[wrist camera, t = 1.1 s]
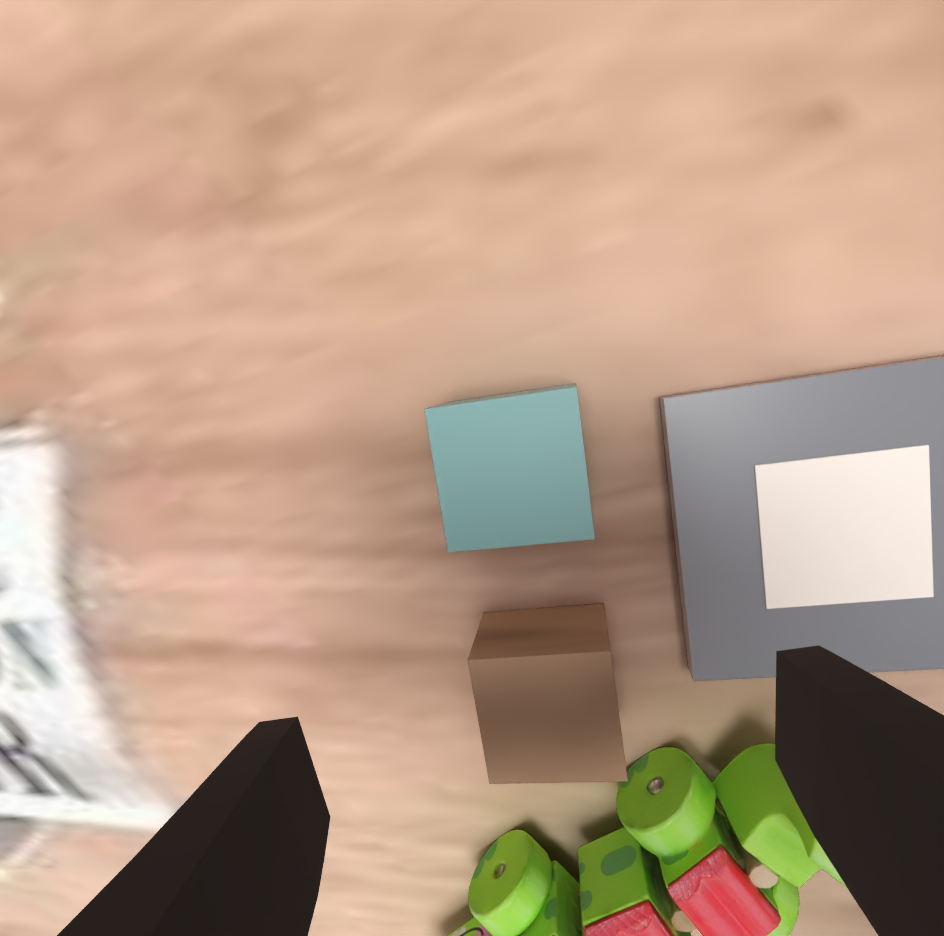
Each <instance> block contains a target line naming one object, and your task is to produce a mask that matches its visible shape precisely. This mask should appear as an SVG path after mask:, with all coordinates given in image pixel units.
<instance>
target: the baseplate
mask: <svg viewBox="0 0 944 936" xmlns="http://www.w3.org/2000/svg"><path fill="white" fill-rule="evenodd" d="M659 399H660V408H661V418H662V427H663V436H664V446H665V455H666V465H667V474H668V483H669V493H670V502H671V512H672V521H673V530H674V540H675V549H676V559H677V568H678V577H679V587H680V596H681V605H682V615H683V624H684V634H685V643H686V652H687V662H688V668H689V671H690V673H691V676H692V679H693V681H706V680H726V679H746V678H766V677H776V651H781V650H788V649H795V648H803V647H810V646H817V645H819V646H821V647H823V648H825V649H827V650H829V651H831V652H833V653H834V654H836V655H838V656H840V657H842V658H844V659H845V660H847V661H849V662H851V663H852V664H854V665H856V666H858V667H860V668H861V669H863V670H865V671H867V672H888V671H908V670H928V669H944V355H942V356H935V357H928V358H922V359H915V360H908V361H901V362H894V363H888V364H881V365H874V366H867V367H860V368H853V369H847V370H840V371H833V372H826V373H819V374H813V375H806V376H799V377H792V378H785V379H779V380H772V381H765V382H758V383H751V384H744V385H738V386H731V387H724V388H717V389H710V390H704V391H697V392H690V393H683V394H676V395H670V396H663V397H659Z"/></svg>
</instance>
